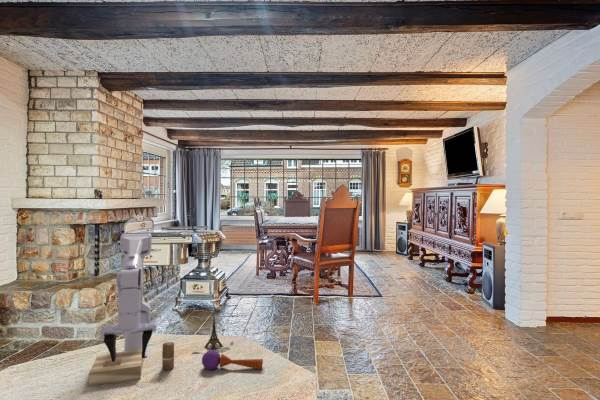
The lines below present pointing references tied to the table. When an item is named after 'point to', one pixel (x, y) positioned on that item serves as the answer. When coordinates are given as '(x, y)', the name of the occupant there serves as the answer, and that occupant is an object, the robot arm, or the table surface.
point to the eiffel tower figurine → (214, 342)
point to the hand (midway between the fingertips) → (128, 358)
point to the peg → (168, 356)
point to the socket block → (116, 368)
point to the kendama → (227, 361)
